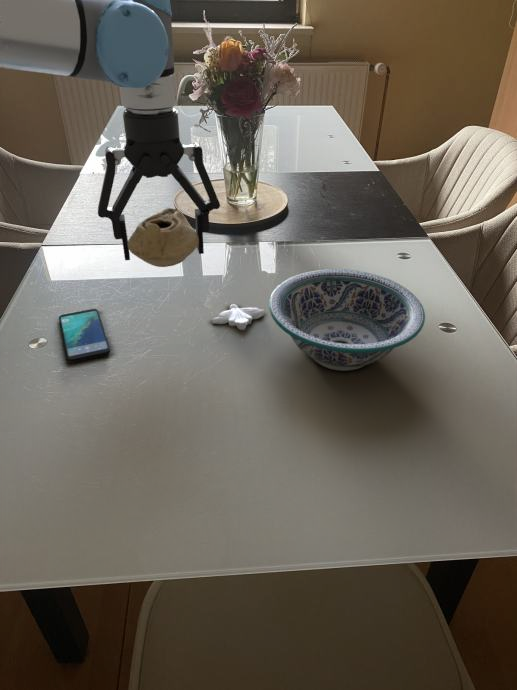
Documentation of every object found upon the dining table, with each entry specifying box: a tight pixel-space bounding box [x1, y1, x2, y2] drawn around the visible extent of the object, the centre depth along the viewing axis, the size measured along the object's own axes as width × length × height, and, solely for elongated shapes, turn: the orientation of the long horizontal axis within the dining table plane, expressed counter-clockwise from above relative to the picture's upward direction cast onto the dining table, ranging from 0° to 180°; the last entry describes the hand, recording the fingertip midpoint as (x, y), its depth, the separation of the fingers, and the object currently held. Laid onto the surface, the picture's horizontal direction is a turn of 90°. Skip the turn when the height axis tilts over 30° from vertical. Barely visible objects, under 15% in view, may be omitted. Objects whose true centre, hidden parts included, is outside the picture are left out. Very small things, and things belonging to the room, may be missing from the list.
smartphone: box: [58, 308, 111, 363], centre depth 95 cm, size 7×1×15 cm
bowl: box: [268, 268, 426, 372], centre depth 90 cm, size 25×25×10 cm
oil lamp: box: [127, 207, 199, 268], centre depth 85 cm, size 11×15×8 cm
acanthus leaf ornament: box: [212, 303, 265, 331], centre depth 100 cm, size 8×7×2 cm
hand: (164, 253), depth 87 cm, fingers closed on oil lamp, 11 cm apart
